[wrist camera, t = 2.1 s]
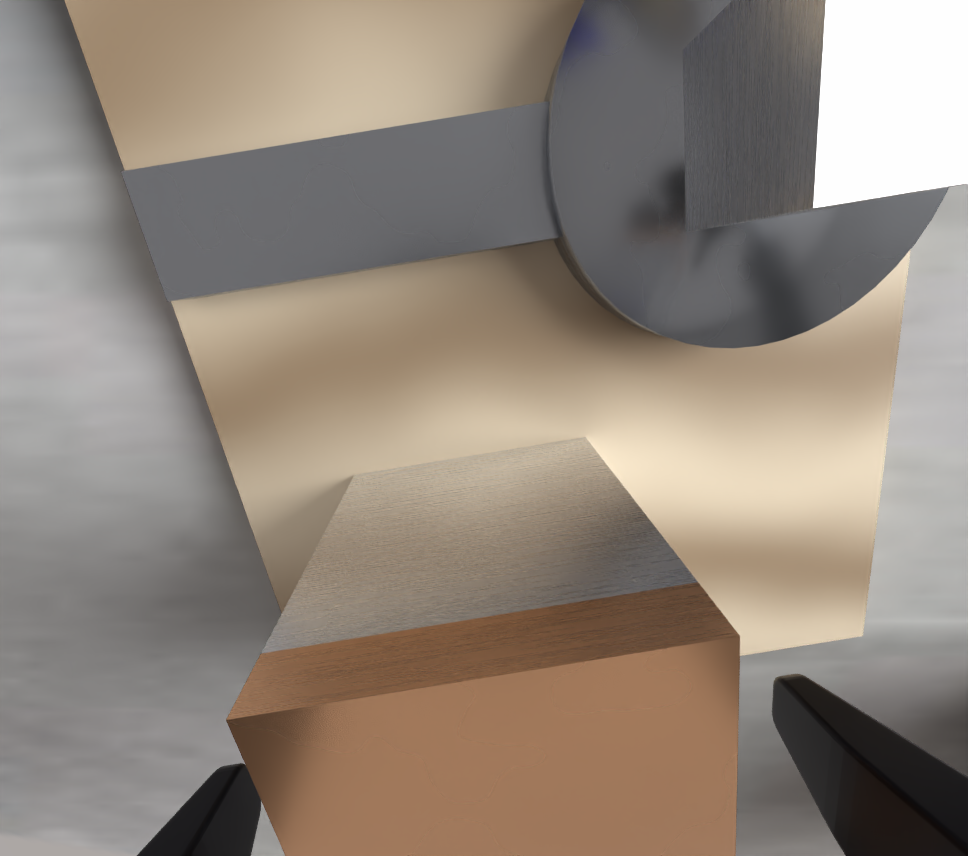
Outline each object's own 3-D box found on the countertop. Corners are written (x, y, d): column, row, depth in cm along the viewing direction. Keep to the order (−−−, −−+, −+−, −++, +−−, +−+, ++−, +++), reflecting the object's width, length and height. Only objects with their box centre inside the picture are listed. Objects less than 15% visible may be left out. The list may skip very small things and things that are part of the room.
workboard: (837, 613, 16) (862, 635, 15) (329, 696, 16) (320, 724, 15) (921, -215, 9) (974, -270, 8) (68, -74, 9) (24, -114, 8)
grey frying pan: (882, 310, 11) (1184, 335, 7) (233, 416, 11) (73, 517, 7) (930, -118, 9) (1466, -565, 4) (98, 19, 9) (-312, -272, 4)
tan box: (603, 625, 14) (734, 945, 7) (403, 658, 14) (351, 1007, 7) (585, 436, 12) (740, 635, 5) (354, 474, 12) (225, 720, 5)
